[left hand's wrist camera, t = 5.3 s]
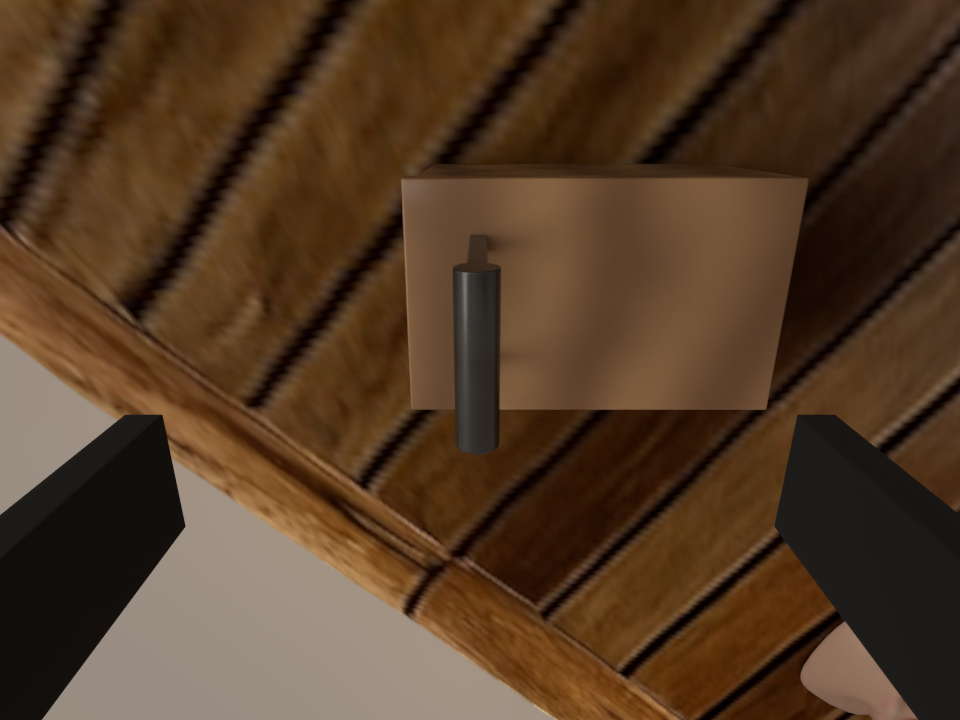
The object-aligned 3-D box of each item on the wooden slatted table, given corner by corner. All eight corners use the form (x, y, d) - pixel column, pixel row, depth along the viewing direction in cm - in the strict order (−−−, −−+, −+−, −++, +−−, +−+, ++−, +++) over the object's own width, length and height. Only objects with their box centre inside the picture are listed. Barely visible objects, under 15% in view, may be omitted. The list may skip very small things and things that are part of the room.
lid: (413, 402, 28) (386, 508, 20) (403, 176, 24) (366, 198, 16) (758, 402, 28) (868, 509, 20) (799, 176, 24) (952, 198, 16)
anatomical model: (810, 750, 43) (874, 628, 39) (784, 701, 47) (840, 585, 43) (982, 772, 44) (1062, 655, 40) (943, 722, 48) (1013, 610, 44)
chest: (438, 335, 37) (424, 401, 28) (433, 163, 33) (416, 176, 24) (690, 335, 37) (758, 402, 28) (713, 164, 33) (799, 176, 24)
